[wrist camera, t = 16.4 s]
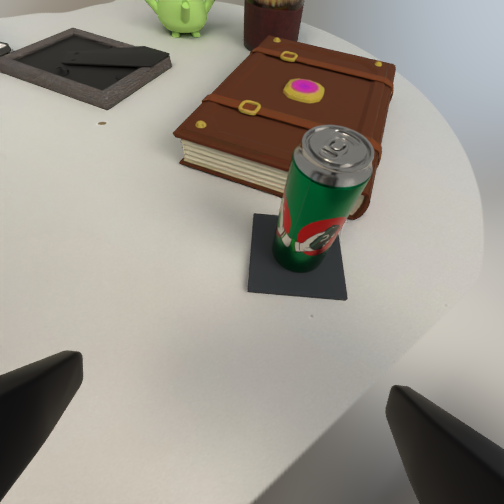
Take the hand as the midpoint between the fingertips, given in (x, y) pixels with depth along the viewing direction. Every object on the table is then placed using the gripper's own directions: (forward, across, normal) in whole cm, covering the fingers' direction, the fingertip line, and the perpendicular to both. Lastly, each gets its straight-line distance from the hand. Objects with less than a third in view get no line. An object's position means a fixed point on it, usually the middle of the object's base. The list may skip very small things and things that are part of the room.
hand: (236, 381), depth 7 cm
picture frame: (+42, +30, -22) cm, 56 cm away
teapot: (+56, +18, -36) cm, 69 cm away
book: (+35, -5, -16) cm, 39 cm away
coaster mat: (+19, -5, 0) cm, 19 cm away
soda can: (+18, -4, 0) cm, 19 cm away
